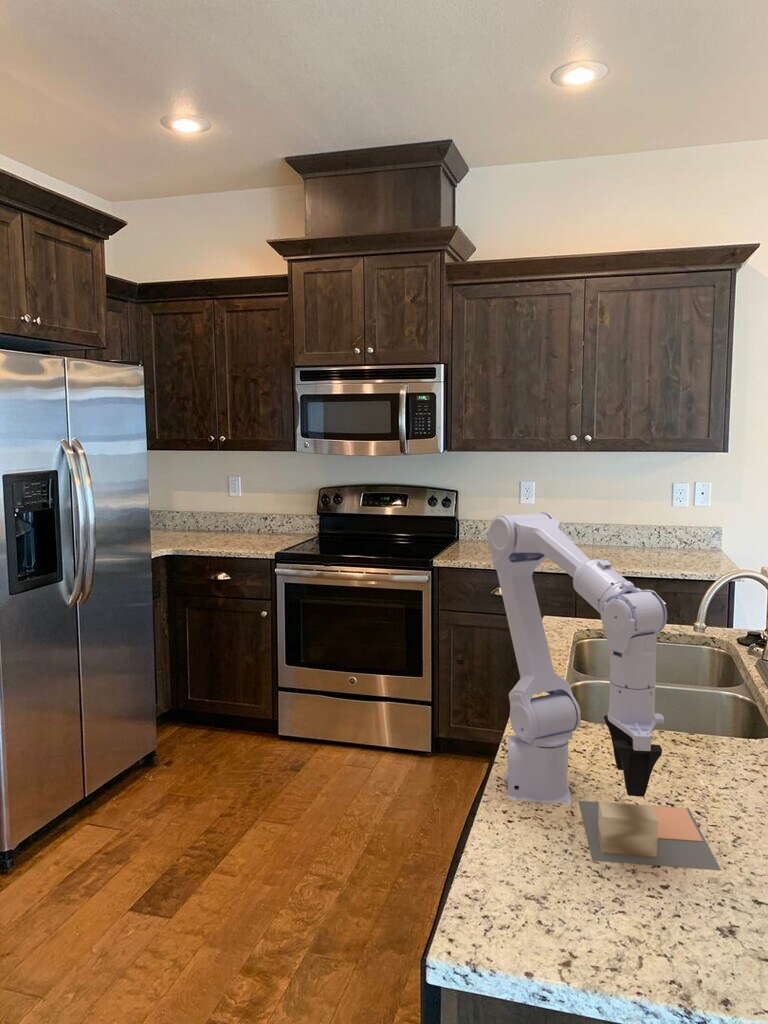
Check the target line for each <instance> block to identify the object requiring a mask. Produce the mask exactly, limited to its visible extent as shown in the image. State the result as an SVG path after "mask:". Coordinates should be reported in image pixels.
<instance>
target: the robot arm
mask: <svg viewBox="0 0 768 1024" xmlns="http://www.w3.org/2000/svg"><path fill="white" fill-rule="evenodd" d="M488 529H489V530H488V533H487V535H486V539H487V543H488V546H489V551H490V556H491V560H492V566H493V569H494V570H496V573H497V578H498V584H499V587H500V590H501V591H500V592H501V597H502V599H503V604H504V605H503V606H504V609H505V613H506V619H507V622H508V627H509V628H508V629H509V632H510V636H511V641H512V645H513V651H514V655H515V659H516V663H517V667H518V668H517V669H518V672H519V677H520V678H519V680H518V681H517V683H516V684H515V685H514V686H513V688H511V690H510V691H509V693H508V699H509V705H510V707H509V708H510V709H509V710H510V711H509V721H510V726H511V728H512V731H513V732H514V734H515V735H508V739H507V770H505V783H507V796H508V800H513V801H524V802H525V801H527V802H541V803H556V804H568V805H569V804H572V803H573V802H572V796H571V791H570V788H569V783H568V773H569V771H568V769H569V767H568V766H569V765H568V764H569V763H568V762H569V740H572V739H573V733H574V732H576V730H578V729H579V727H580V724H581V719H582V717H581V715H582V713H581V708H580V705H579V703H578V701H577V700H576V698H575V696H574V694H573V691H572V688H571V687H572V686H571V684H570V682H568V681H567V680H566V679H565V678H563V677H562V676H560V675H558V674H557V673H556V672H555V669H554V666H553V661H552V657H551V653H550V649H549V645H548V640H547V635H546V631H545V626H544V622H543V618H542V615H541V614H542V613H541V609H540V605H539V601H538V597H537V593H536V588H535V584H534V579H533V573H534V571H535V570H536V568H537V567H540V566H541V565H542V564H543V562H544V561H545V560H546V558H547V559H548V560H549V561H551V562H552V563H554V564H555V565H556V566H557V567H559V568H560V569H561V570H563V571H564V572H565V573H566V574H568V575H569V576H571V577H572V578H573V579H572V585H573V590H575V592H576V593H578V595H579V596H581V597H582V599H584V600H585V602H587V603H589V605H590V606H591V607H593V608H594V609H595V610H596V611H597V613H599V614H600V620H601V624H602V626H603V628H604V630H605V634H606V644H607V647H608V649H609V650H610V653H609V654H610V657H609V658H610V661H609V665H610V666H609V670H610V671H609V702H608V703H609V707H608V711H607V715H604V716H603V720H604V722H605V724H606V727H607V729H608V732H609V734H610V738H611V743H612V748H613V755H614V760H615V765H616V767H617V771H623V779H624V787H625V790H626V793H627V796H629V797H641V798H642V797H645V795H646V794H647V791H648V786H649V782H650V779H651V775H652V772H653V769H654V767H655V765H656V763H657V761H658V760H659V759H660V757H661V756H662V753H663V748H662V746H661V745H660V744H652V733H653V732H654V728H655V726H656V725H657V724H659V725H660V724H664V723H665V717H664V716H663V714H662V713H658V712H656V711H655V709H656V678H657V677H656V673H657V672H656V671H657V669H656V668H657V665H656V664H657V634H658V633H661V632H662V631H663V630H664V628H665V627H666V625H667V620H668V611H667V607H666V605H665V602H664V600H663V599H662V598H661V597H660V596H659V595H658V594H657V592H656V591H654V590H652V589H640V588H639V587H635V585H634V583H633V582H631V581H630V580H629V581H628V580H627V579H626V578H625V577H623V576H622V575H621V574H620V573H618V571H616V570H615V569H614V568H613V567H612V566H613V565H612V563H611V562H610V561H608V560H607V559H605V560H604V559H601V558H600V559H599V558H595V559H590V558H588V556H587V555H586V554H585V553H584V552H583V550H581V549H580V548H579V547H578V546H577V545H576V544H575V543H574V542H573V541H572V540H571V539H570V538H569V537H568V536H567V535H566V533H564V532H563V531H562V529H563V528H562V524H561V521H560V520H558V519H557V518H555V517H554V515H552V513H549V512H545V511H542V512H539V513H526V514H510V515H509V514H508V515H505V514H498V515H496V516H495V517H494V518H493V519H492V522H491V524H490V527H489V528H488ZM541 693H547V694H546V695H541V696H540V695H539V696H536V697H533V696H534V695H537V694H541Z"/></svg>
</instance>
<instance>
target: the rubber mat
mask: <svg viewBox="0 0 768 1024" xmlns="http://www.w3.org/2000/svg"><path fill="white" fill-rule="evenodd" d="M599 802H600V801H588V800H586V801H585V800H578V805H579V809H580V813H581V818H582V821H583V827H584V831H585V835H586V838H587V840H586V841H587V844H588V847H589V853H590V856H591V861H595V862H596V861H597V862H606V863H618V864H619V863H620V864H635V865H645V866H657V867H669V868H670V867H671V868H672V867H673V868H682V869H683V868H684V869H694V870H695V869H698V870H710V871H719V872H720V871H722V869H721V867H720V865H719V863H718V861H717V859H716V858H715V856H714V854H713V852H712V850H711V848H710V846H709V844H708V842H707V841H706V839H705V837H704V834H703V833H702V831H701V829H700V826H699V825H698V824H697V821H696V819H695V818H694V815H693V814H692V812H691V810H690V808H689V807H676V806H662V805H661V806H660V805H651V806H652V808H653V810H654V812H655V815H656V817H657V819H658V835H657V857H654V856H640V855H627V854H614V853H602V851H601V847H600V844H599V840H598V810H599ZM619 804H621V803H620V802H619Z"/></svg>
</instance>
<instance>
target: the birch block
mask: <svg viewBox="0 0 768 1024" xmlns="http://www.w3.org/2000/svg"><path fill="white" fill-rule="evenodd" d="M598 802H599V810H598V840H599V844H600V847H601V851H602V853H614V854H627V855H640V856H654V857H657V835H658V819H657V817H656V815H655V812H654V810H653V808H652V806H653V805H648V804H647V805H646V804H633V803H631V804H630V803H620V802H619V803H620V804H619V803H616V802H603V801H598Z"/></svg>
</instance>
